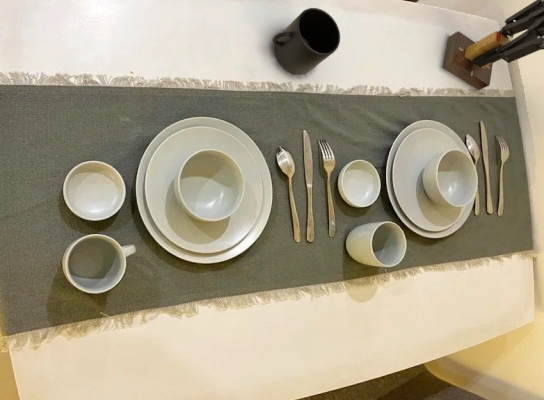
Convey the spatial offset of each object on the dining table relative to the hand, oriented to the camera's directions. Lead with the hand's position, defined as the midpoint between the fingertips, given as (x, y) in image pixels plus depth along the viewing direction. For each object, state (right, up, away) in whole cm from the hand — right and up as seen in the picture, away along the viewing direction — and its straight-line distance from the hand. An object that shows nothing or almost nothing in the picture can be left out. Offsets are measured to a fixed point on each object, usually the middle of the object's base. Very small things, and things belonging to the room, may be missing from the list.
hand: (478, 56), depth 111 cm
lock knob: (0, 0, +1) cm, 1 cm away
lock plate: (-2, -1, +4) cm, 4 cm away
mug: (-47, -4, -16) cm, 50 cm away
